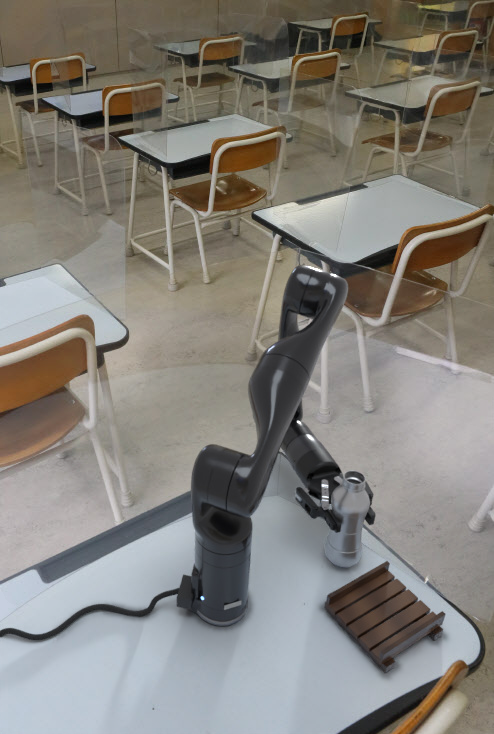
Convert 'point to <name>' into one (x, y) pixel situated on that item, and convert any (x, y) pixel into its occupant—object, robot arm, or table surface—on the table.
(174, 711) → the table surface
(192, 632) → the table surface
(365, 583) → the wooden slatted rack
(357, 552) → the silver metal bottle
